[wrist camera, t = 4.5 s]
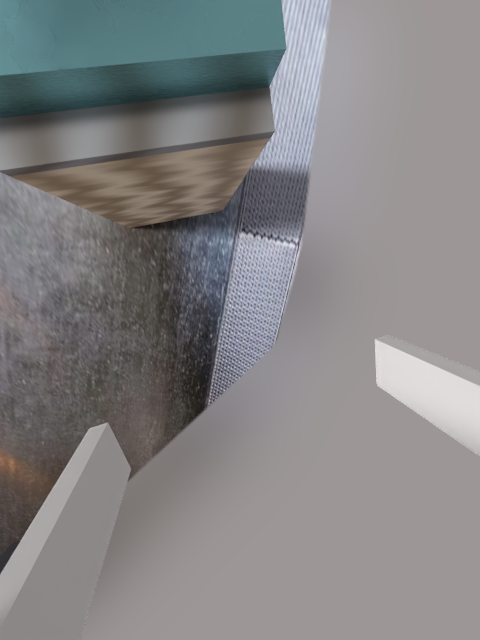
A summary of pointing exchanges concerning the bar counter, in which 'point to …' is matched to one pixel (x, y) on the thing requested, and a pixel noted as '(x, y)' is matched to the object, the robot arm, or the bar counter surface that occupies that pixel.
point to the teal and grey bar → (133, 51)
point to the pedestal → (142, 154)
